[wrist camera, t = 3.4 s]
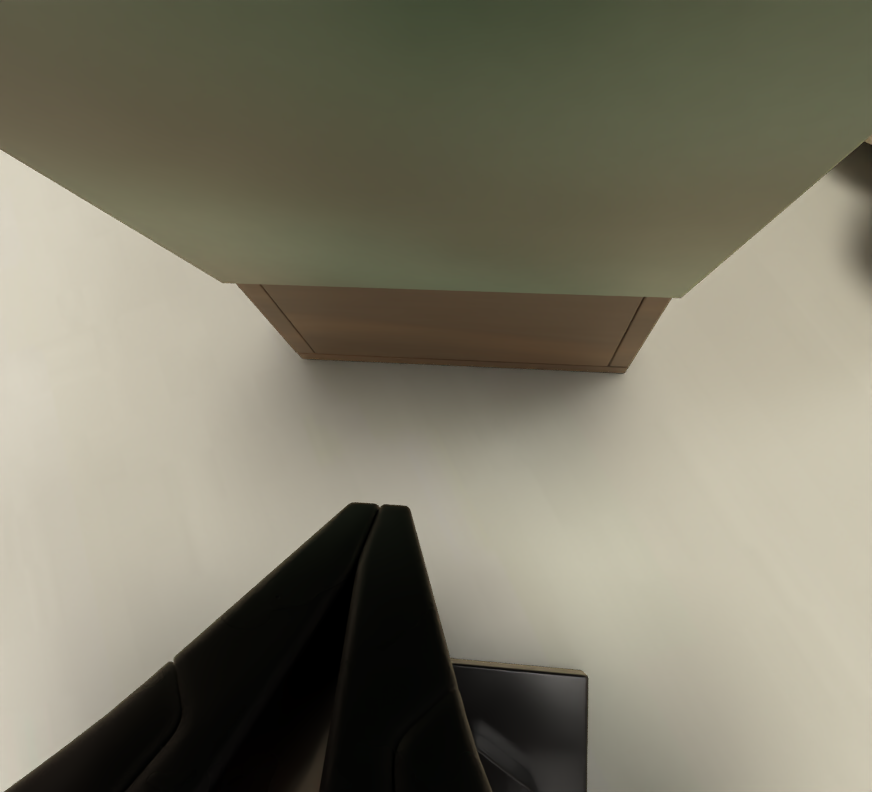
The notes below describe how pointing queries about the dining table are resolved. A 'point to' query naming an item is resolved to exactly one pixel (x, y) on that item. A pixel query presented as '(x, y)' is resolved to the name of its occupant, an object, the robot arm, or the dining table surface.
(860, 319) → the dining table surface
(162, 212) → the sage green panel
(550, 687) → the black button base
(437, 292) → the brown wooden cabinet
